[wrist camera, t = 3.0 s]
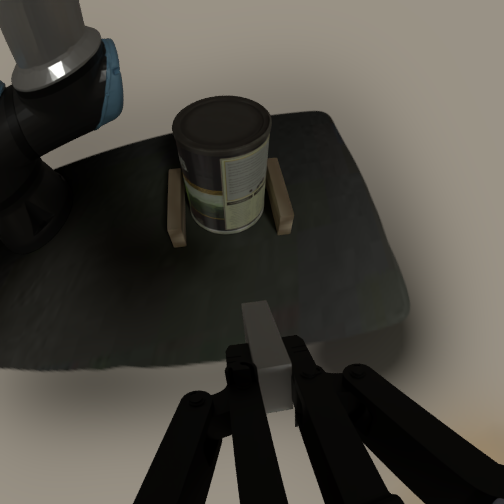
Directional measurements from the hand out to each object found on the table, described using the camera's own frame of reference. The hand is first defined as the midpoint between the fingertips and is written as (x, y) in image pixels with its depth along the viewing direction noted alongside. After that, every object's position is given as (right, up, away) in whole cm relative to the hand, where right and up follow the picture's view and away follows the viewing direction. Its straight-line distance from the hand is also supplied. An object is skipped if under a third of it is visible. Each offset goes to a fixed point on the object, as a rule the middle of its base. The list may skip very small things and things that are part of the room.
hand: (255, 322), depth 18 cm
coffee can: (-4, +11, +23) cm, 26 cm away
